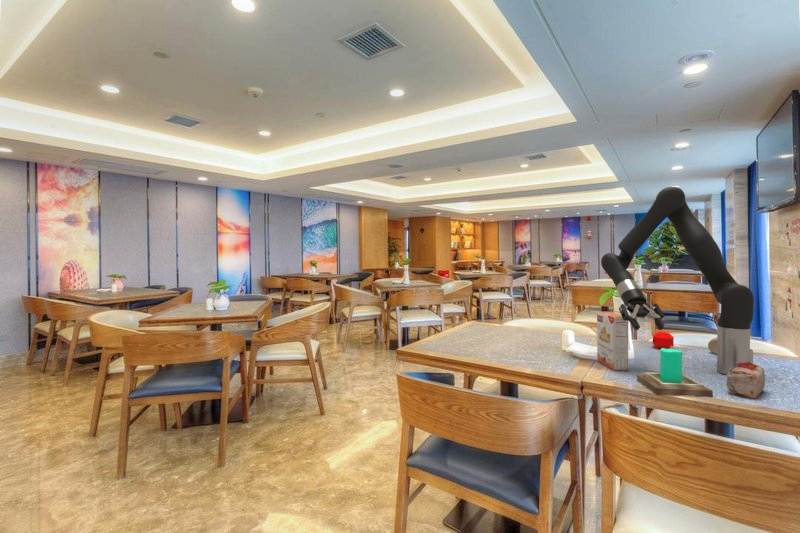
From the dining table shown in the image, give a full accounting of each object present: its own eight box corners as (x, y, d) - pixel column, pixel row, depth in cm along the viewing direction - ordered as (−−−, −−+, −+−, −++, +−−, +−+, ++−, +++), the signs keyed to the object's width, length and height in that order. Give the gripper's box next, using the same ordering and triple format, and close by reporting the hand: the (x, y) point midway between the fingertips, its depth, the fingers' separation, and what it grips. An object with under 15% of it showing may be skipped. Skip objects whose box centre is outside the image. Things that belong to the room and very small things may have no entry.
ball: (653, 345, 188) (653, 330, 187) (673, 347, 183) (673, 331, 183) (652, 349, 181) (652, 332, 181) (673, 351, 176) (673, 334, 176)
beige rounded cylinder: (706, 353, 173) (707, 336, 172) (714, 350, 177) (715, 334, 176) (736, 359, 163) (737, 341, 163) (744, 356, 168) (744, 338, 167)
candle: (685, 385, 125) (685, 348, 125) (664, 383, 127) (665, 347, 126) (676, 379, 131) (676, 344, 131) (656, 378, 132) (657, 343, 132)
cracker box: (596, 360, 162) (596, 311, 161) (610, 361, 162) (611, 311, 161) (612, 370, 148) (612, 316, 147) (628, 371, 148) (629, 316, 147)
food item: (758, 401, 117) (759, 369, 116) (724, 394, 123) (725, 363, 123) (766, 391, 125) (767, 360, 125) (734, 384, 132) (734, 356, 131)
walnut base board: (687, 382, 134) (687, 373, 134) (712, 396, 120) (712, 386, 120) (637, 380, 137) (637, 371, 137) (656, 394, 123) (656, 384, 123)
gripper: (616, 287, 148) (634, 323, 137) (653, 287, 148) (674, 322, 137) (608, 300, 153) (625, 334, 142) (644, 299, 154) (664, 334, 143)
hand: (649, 328), depth 140 cm, fingers open, 8 cm apart
